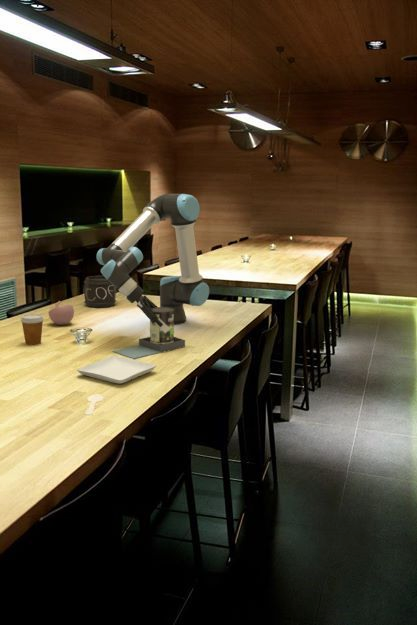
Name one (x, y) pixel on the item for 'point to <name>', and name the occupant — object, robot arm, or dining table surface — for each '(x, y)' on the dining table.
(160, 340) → the coffee can
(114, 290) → the coffee canister
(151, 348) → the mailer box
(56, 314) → the pink apple
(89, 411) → the spoon
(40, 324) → the disposable coffee cup
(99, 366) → the salad plate
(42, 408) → the dining table surface
